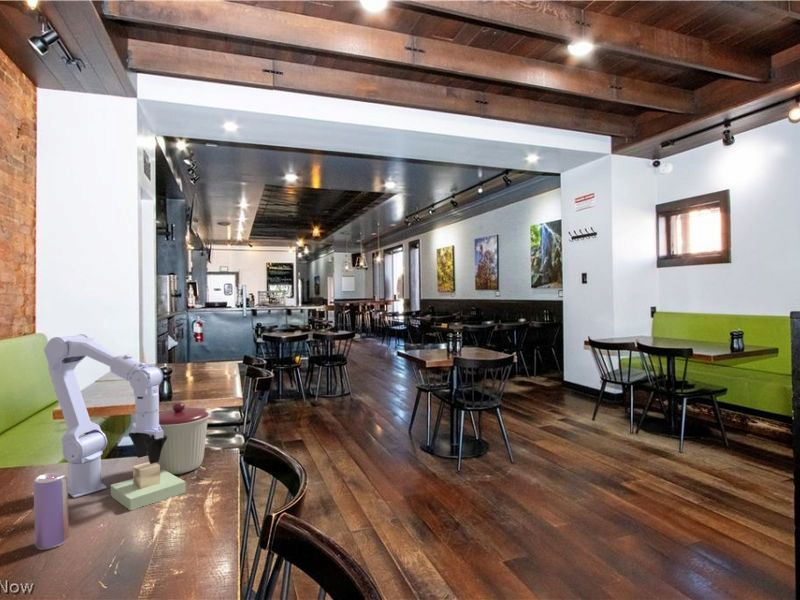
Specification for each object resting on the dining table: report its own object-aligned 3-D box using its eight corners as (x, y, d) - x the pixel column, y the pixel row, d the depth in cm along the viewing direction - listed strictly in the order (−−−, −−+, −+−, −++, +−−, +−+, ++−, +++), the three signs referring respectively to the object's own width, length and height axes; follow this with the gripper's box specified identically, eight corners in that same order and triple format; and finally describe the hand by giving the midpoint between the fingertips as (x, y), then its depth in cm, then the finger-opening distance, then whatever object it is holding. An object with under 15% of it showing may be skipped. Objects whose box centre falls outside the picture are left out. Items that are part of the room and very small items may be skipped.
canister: (135, 481, 135) (134, 410, 134) (162, 459, 153) (161, 396, 152) (199, 479, 136) (197, 408, 136) (218, 457, 154) (217, 395, 154)
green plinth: (110, 495, 125) (110, 485, 125) (163, 479, 136) (163, 469, 136) (130, 510, 116) (130, 499, 116) (185, 492, 127) (185, 481, 127)
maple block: (133, 484, 125) (133, 466, 125) (152, 478, 129) (152, 461, 129) (140, 489, 122) (140, 470, 122) (160, 483, 126) (159, 465, 126)
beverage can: (50, 552, 98) (49, 482, 97) (27, 549, 99) (26, 480, 99) (75, 537, 103) (74, 472, 103) (53, 535, 105) (52, 470, 104)
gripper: (120, 409, 128) (121, 458, 128) (143, 418, 119) (144, 470, 119) (147, 405, 133) (147, 451, 133) (170, 412, 124) (171, 462, 124)
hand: (148, 459), depth 126 cm, fingers open, 7 cm apart
